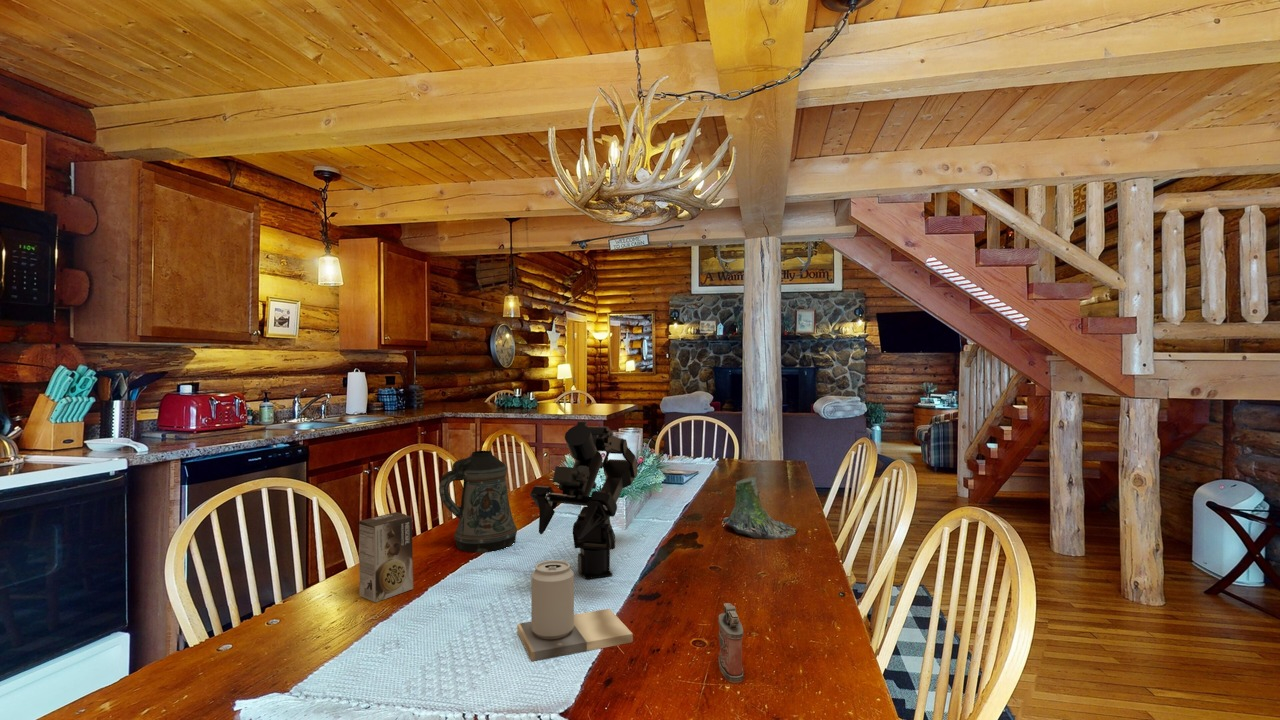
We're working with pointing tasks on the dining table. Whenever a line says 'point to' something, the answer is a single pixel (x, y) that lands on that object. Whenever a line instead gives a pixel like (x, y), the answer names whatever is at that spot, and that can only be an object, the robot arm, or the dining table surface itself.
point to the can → (552, 599)
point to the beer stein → (480, 504)
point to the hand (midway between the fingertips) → (559, 535)
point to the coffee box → (385, 556)
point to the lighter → (730, 644)
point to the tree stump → (754, 514)
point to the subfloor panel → (577, 636)
